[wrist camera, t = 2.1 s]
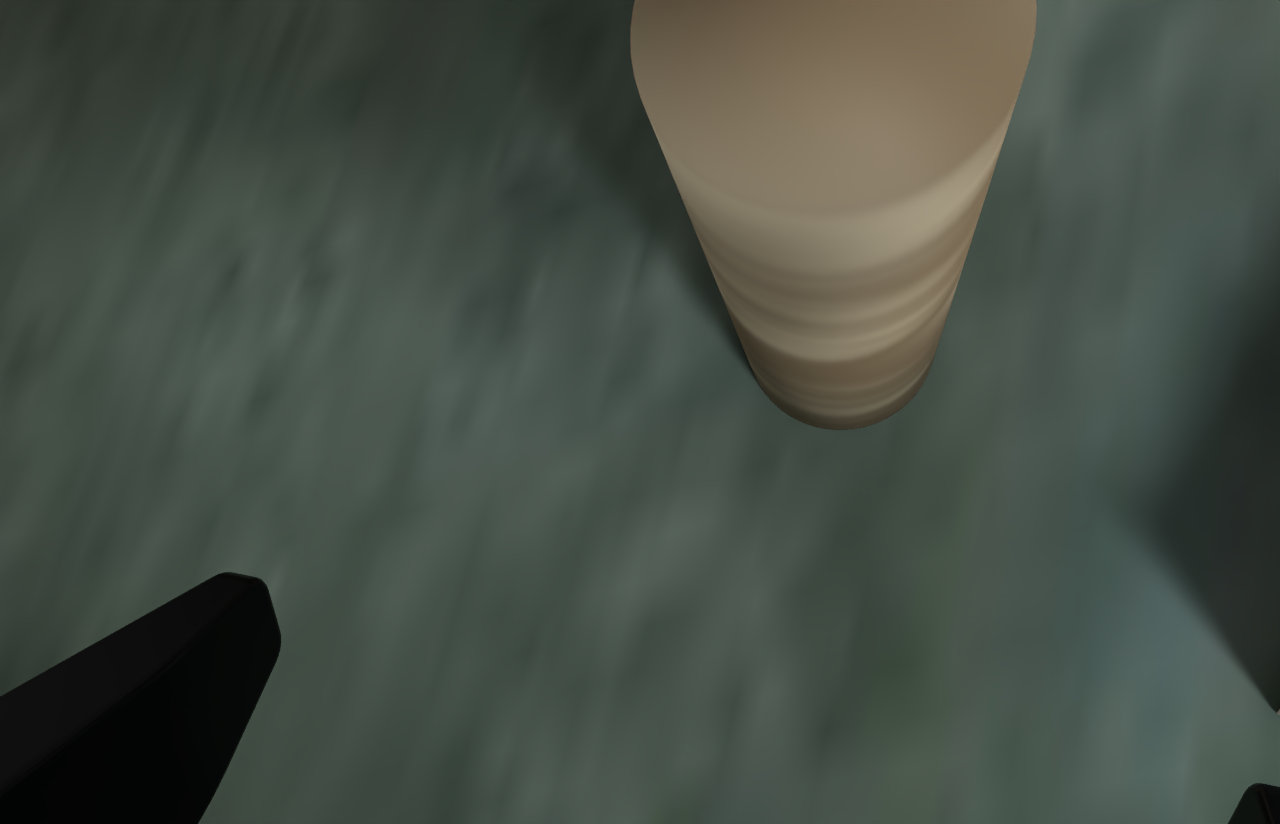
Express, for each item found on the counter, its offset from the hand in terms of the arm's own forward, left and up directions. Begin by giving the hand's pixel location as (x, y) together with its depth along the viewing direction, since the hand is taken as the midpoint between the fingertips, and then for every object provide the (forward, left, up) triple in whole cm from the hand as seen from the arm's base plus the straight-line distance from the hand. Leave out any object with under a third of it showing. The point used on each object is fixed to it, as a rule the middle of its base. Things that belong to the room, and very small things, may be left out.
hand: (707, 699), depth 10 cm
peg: (+6, +3, -13) cm, 15 cm away
